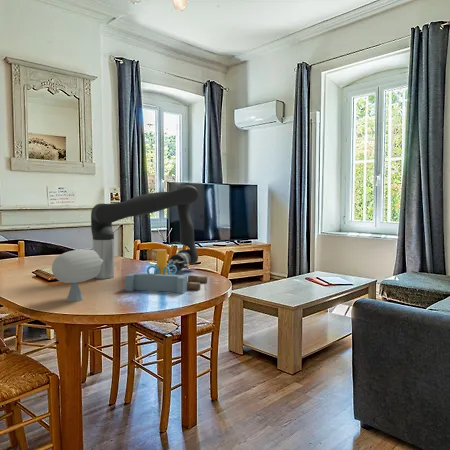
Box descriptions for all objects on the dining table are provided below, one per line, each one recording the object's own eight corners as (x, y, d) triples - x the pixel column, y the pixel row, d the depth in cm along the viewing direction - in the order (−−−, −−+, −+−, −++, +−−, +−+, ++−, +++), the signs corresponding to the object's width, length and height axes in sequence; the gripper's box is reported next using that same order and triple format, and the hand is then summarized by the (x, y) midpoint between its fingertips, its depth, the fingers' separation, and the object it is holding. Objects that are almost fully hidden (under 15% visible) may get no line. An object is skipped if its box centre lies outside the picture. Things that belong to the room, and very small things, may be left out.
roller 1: (188, 283, 175) (187, 278, 174) (190, 278, 178) (189, 274, 176) (206, 284, 174) (205, 279, 172) (207, 279, 176) (207, 274, 175)
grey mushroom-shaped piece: (115, 299, 143) (115, 250, 142) (55, 306, 132) (55, 253, 131) (103, 291, 156) (102, 246, 155) (47, 297, 145) (46, 248, 144)
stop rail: (125, 290, 157) (125, 275, 156) (131, 287, 163) (131, 272, 162) (182, 294, 153) (183, 278, 153) (186, 290, 159) (187, 275, 159)
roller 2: (179, 289, 160) (179, 282, 160) (181, 288, 163) (181, 281, 163) (198, 290, 159) (199, 283, 159) (200, 289, 162) (200, 282, 162)
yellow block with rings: (166, 290, 159) (165, 252, 158) (143, 288, 162) (142, 251, 161) (180, 283, 170) (179, 248, 169) (158, 281, 174) (157, 247, 173)
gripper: (165, 253, 189) (153, 258, 172) (192, 253, 187) (183, 259, 170) (165, 268, 190) (153, 275, 173) (192, 269, 188) (183, 276, 171)
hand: (168, 267), depth 172 cm, fingers closed
